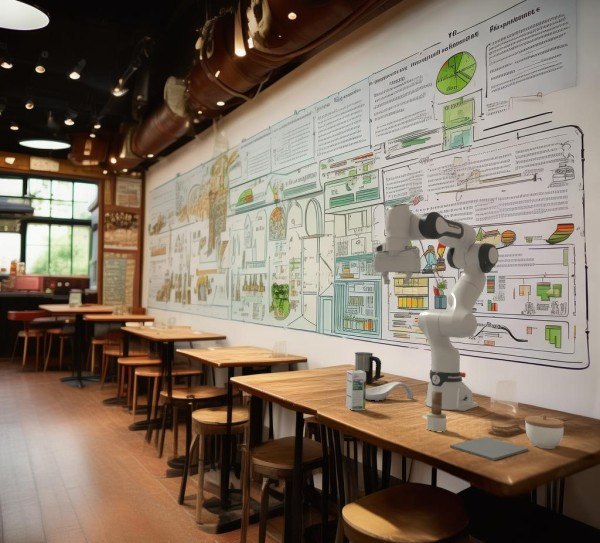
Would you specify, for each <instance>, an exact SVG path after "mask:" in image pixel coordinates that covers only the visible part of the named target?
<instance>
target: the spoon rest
mask: <svg viewBox="0 0 600 543" xmlns="http://www.w3.org/2000/svg"><path fill="white" fill-rule="evenodd" d="M398 386H400V387H404V388H405V391H406V398H408V399H411V400H413V399H414V392H413V390H412V389H411V387H410V385H408V384H406V383H404V382H400V381H393V382H392V381H391V382H388V383H386V384H382V385H378V386H375V387H368V388H367V387H366V394H365V400H368V401H371V400H375V401H374V402H380V401H379V400H382V401H384V400H385V399H386V398H387V397H388V396H389V394H390V393H391V392H392V391H394V390H393V389H395V388H396V387H398Z"/></svg>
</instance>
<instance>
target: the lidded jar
mask: <svg viewBox="0 0 600 543" xmlns="http://www.w3.org/2000/svg"><path fill="white" fill-rule="evenodd" d="M524 422H525V423H524V424H525V427H524V428H525V432H526V433H525V434H526V437H527V438H528V440H529V441H530V442H531V443H532V445H533V446H534V447H536V448H540V449H546V450H548V449H549V450H553V449H556V447H557V446H558V445H559V444H560V443H562V440H563V437H564V431H565V428H564V426H565V422H564V421H563V420H561V419H557V418H554V417H549V416H547V414H545V413H542V415H541V416H540V415H529V416H528V415H527V416H525V418H524Z"/></svg>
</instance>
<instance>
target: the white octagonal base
mask: <svg viewBox="0 0 600 543" xmlns="http://www.w3.org/2000/svg"><path fill="white" fill-rule="evenodd" d="M425 420H426V425H425V426H426V430H427V429H429V430H432V431H445V432H446V430H447V417H446V418H432V417H428V416H427V415H426V419H425ZM429 430H428V431H429ZM432 431H431V432H432Z"/></svg>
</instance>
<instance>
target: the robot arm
mask: <svg viewBox="0 0 600 543" xmlns="http://www.w3.org/2000/svg"><path fill="white" fill-rule="evenodd" d="M385 230H386V235H385V240H384V242H383V243H381V244H379V245H376V246H375V247H374V252H376V253H375V254H374V258H373V260H374V262H373V270H374V271H375V273H381V277H382V279H383V284H384V285H391V279H389V277H388V276H389V273H405V274H404V275H405V278H403V280H402V281H403V283H402V284H403V285H410V280H411V278H412V276H413V272H414V273H415V272H417V273H418V272H420V270H421V269H422V265H421V264H422V263H421V262H422V261H421V255H420V251H421V250H420V247H418V246H417V245H412V246H411V245H410V242H411V241H423V240H437V241H438V243H439V244H441V245H442V246H444V247H446V248H448V250H447V252H446V261H447V264H448V266H449V267H451V268H453V269H455V270H463V271H462V272H463V273H462V274H461V275H460V277H459V278H458V279H457V281H456V282H455V283H454V286H453V287H452V288H451V290H450V291H449V293H448V295H447V303H448V305H449V306H450V308H447V309H445V308H431V309H430V308H429V309H426V310H422V311H421V312H420V313H419V315H418V317H417V325H418V329H419V330H420V331H421V332H422V333H423V334H424V336H425V338H426V339H427V341H428V344H429V348H430V357H431V358H430V359H431V364H430V365H431V369H430V370H429V379H430V381H429V382H428V386H427V393H426V399H425V400H424V403H425V405H426V406H428V407H431V408H432V391H438V392H442V410H450V411H461V412H462V411H463V412H465V411H468V410H471V409H473V408H476V407H479V403H478V402H475V401H473V393H472V392H473V391H472V390H471V389H470V388H469V386H467V385H466V384H465V383H464V382H463V378H464V379H465V378H466V372H465V371H464V372H463V371H461V370H460V368H461V367H460V366H461V364H460V362H461V361H460V360H461V354H460V352H459V350H458V348H456V347H455V346H454V345H453V344H452V342H451V339H450V338H457V339H463V338H469V337H473V336H474V334H475V333H476V331H477V329H478V321H477V318H476V316H475V314H474V313H473V309H474V307H475V305H476V303H477V301H478V300H479V298H480V296H481V295H482V293H483V291H484V288H485V285H486V283H487V276H486V274H488V273H490V272H492V269H493V268H495V266H496V265H497V263H498V260H499V251H498V248H497V247H496V245H494V244H492V243H489V242H484V243H479V242H476V240H477V232H476V230H475V228H474V227H473V226H471V225H469V224H467V223H466V222H465V223H464V222H461V221H457V220H450V219H447V218H445V217H444V216H443V215H442V214H440V213H439V212H437V211H431V212H426V213H422V214H421V213H420V214H415V213H414V212H412V211H411V209H410V207H409V205H408V204H407V203H400V204H399V203H398V204H392V205H390V206H388V209H387V211H386V218H385Z"/></svg>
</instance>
